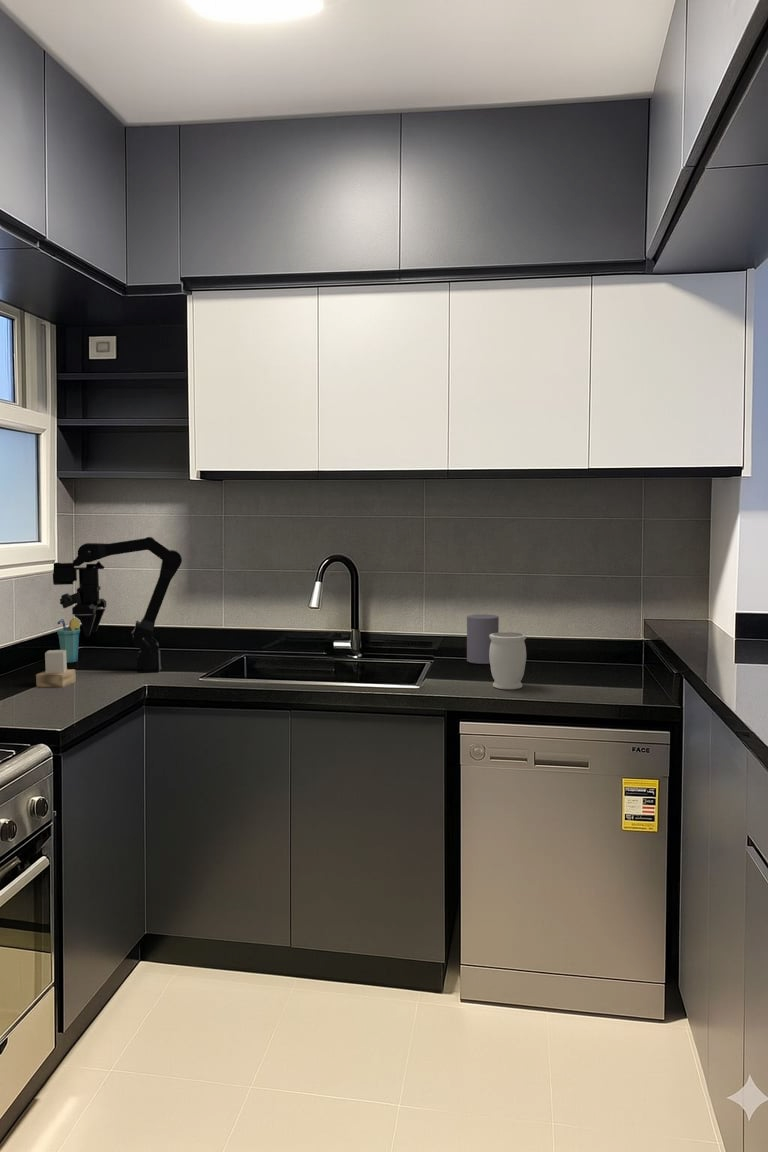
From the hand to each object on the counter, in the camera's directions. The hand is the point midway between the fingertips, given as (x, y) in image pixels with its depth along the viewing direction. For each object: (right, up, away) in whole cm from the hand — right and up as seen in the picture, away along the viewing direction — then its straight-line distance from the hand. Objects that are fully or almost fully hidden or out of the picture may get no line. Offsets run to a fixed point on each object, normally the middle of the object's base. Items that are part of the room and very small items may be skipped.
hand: (90, 634), depth 271 cm
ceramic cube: (-6, -10, -13) cm, 18 cm away
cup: (-15, -11, +23) cm, 29 cm away
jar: (+126, -14, -22) cm, 128 cm away
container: (+123, -10, +17) cm, 125 cm away
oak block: (-6, -14, -14) cm, 20 cm away
